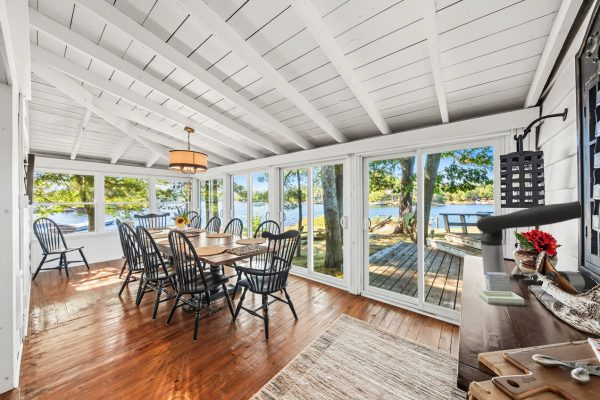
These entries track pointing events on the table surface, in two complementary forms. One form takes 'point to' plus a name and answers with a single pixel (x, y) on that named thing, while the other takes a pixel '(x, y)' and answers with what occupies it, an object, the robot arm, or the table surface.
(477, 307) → the table surface
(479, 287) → the table surface
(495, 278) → the medicine box
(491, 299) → the tray
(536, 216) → the robot arm
